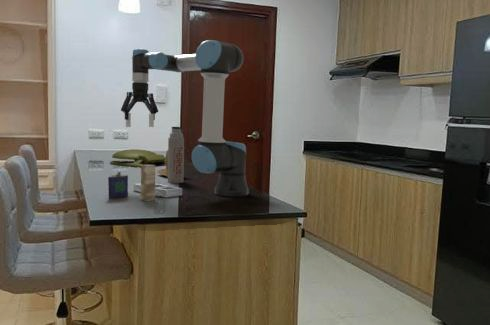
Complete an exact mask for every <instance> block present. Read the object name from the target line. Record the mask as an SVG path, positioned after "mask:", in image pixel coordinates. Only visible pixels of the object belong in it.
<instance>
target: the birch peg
mask: <svg viewBox="0 0 490 325" xmlns="http://www.w3.org/2000/svg"><path fill="white" fill-rule="evenodd" d="M140 183H141V192H140V200H141V201H144V200H145V201H144V202H150V201H156V195H155V183H156V165H155V164H143V165H141V168H140Z"/></svg>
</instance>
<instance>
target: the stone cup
mask: <svg viewBox="0 0 490 325" xmlns="http://www.w3.org/2000/svg"><path fill="white" fill-rule="evenodd" d="M165 159H166V160H165V161H166V165H165V168H160V169H158V170H157V171H156V173H158V174H160V175H162V176H164V177H166V178H168V149H167V150H166V152H165Z"/></svg>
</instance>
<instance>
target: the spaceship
mask: <svg viewBox="0 0 490 325" xmlns="http://www.w3.org/2000/svg"><path fill="white" fill-rule="evenodd" d="M111 157H112V158H113V159H118V160H131V161H132V160H133V162H129V161H128V162H127V161H118V160H112V161H110V162H109V164H110V165H113V164H114V165H113V166H121V165H122V166H121V167H129V166H130V167H131V168H137V167H140V168H139V169H141V165H149V164H156V163H159V164H158V165H165V164H166V159H165V158H166V156H164V154H158V153H156V152H153V151H151V150H146V149H145V150H144V149H133V148H132V149H124V150H120V151H117V152H115V153H113V154H112V156H111Z"/></svg>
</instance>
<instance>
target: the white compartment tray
mask: <svg viewBox="0 0 490 325" xmlns="http://www.w3.org/2000/svg"><path fill="white" fill-rule="evenodd" d="M133 191H134V192H137V191H139V192H138V193H141V182H140V183H133ZM156 196H157V197H160V196H161V197H162V198H172V197H173V198H174V197H180V196H183V188H182V187H177V186H172V185H167V184H161V183H156V182H155V197H156Z"/></svg>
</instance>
